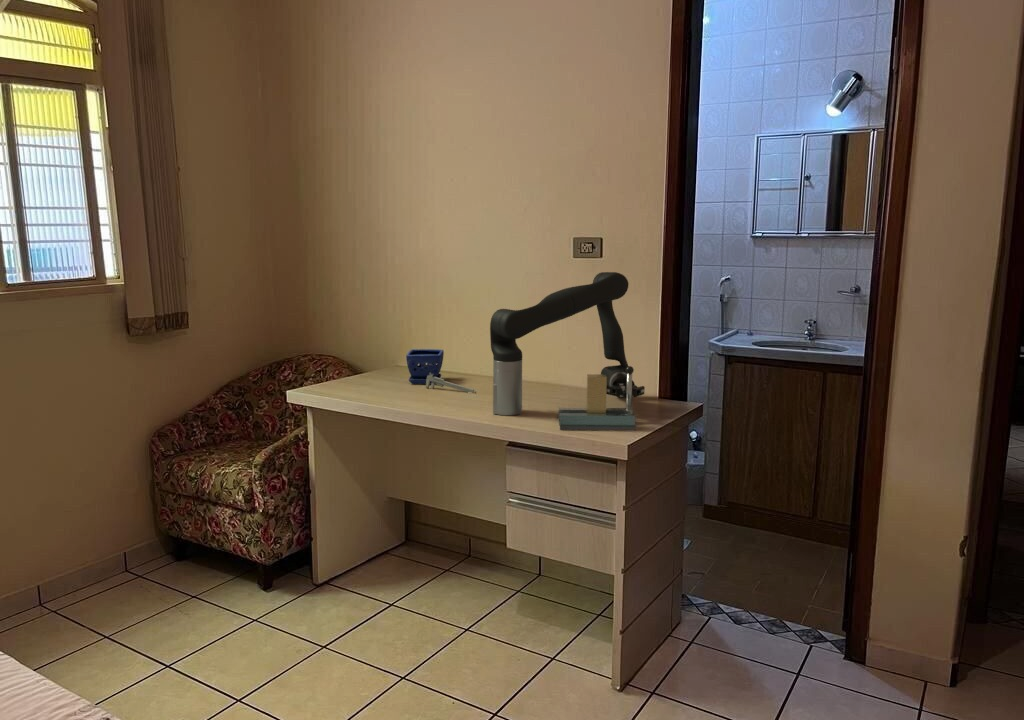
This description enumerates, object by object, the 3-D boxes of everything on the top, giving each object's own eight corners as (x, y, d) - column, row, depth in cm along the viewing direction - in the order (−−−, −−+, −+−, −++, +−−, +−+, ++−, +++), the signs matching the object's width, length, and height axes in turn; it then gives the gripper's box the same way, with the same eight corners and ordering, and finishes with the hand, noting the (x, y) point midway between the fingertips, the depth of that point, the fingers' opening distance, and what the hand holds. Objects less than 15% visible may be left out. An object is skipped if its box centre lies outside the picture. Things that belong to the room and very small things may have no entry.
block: (586, 419, 240) (587, 374, 237) (604, 419, 240) (605, 374, 237) (587, 422, 236) (588, 376, 234) (605, 423, 236) (606, 376, 233)
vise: (558, 417, 248) (558, 404, 247) (628, 417, 247) (628, 404, 247) (560, 430, 232) (560, 416, 231) (635, 430, 231) (635, 416, 231)
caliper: (426, 389, 291) (425, 372, 290) (427, 388, 292) (427, 372, 291) (475, 394, 283) (475, 376, 282) (477, 393, 284) (476, 376, 283)
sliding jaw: (558, 416, 243) (559, 365, 241) (631, 416, 243) (633, 365, 240) (559, 418, 240) (559, 366, 237) (633, 419, 239) (634, 367, 237)
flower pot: (441, 385, 297) (440, 354, 295) (406, 385, 298) (405, 354, 296) (444, 379, 310) (444, 349, 309) (410, 378, 311) (410, 348, 309)
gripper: (601, 373, 258) (607, 383, 241) (642, 373, 258) (650, 384, 241) (601, 395, 259) (606, 407, 242) (641, 396, 259) (649, 408, 242)
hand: (628, 395), depth 241 cm, fingers closed
